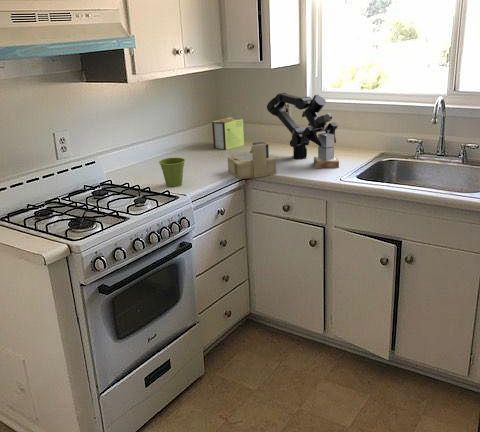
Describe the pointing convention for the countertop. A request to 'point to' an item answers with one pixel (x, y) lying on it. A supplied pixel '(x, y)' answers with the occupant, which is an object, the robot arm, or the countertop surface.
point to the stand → (326, 163)
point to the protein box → (228, 133)
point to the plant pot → (172, 170)
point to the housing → (326, 146)
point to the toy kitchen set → (253, 164)
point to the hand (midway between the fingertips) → (328, 144)
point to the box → (266, 148)
